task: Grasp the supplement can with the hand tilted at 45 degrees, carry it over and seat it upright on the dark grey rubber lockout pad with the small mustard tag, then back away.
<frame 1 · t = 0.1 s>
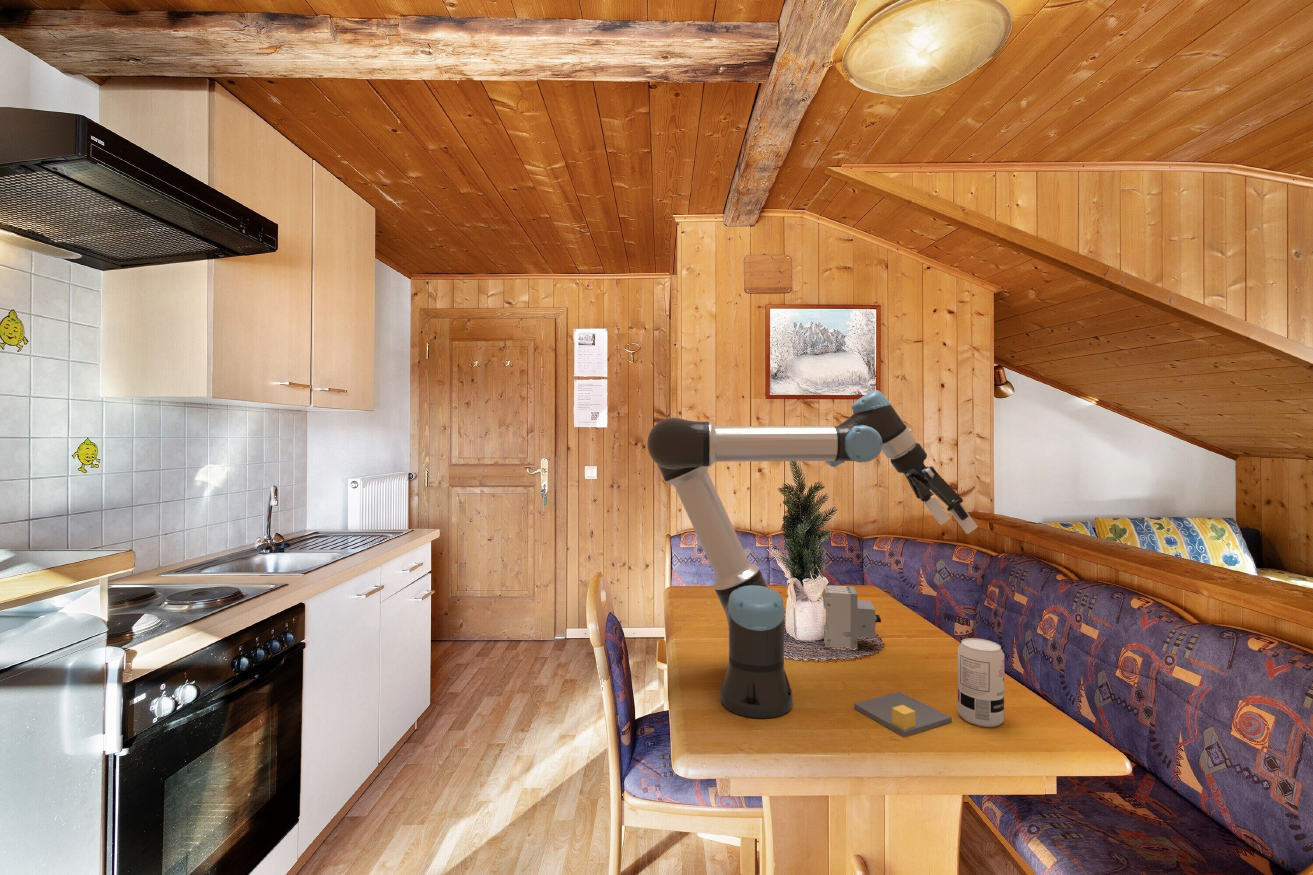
hand: (958, 525, 139), 36 cm above the table, tool tilted 35°, fingers open, 13 cm apart
circuit breaker: (851, 646, 161), on the table
supplement can: (980, 719, 121), on the table
lockout pad: (901, 714, 123), on the table
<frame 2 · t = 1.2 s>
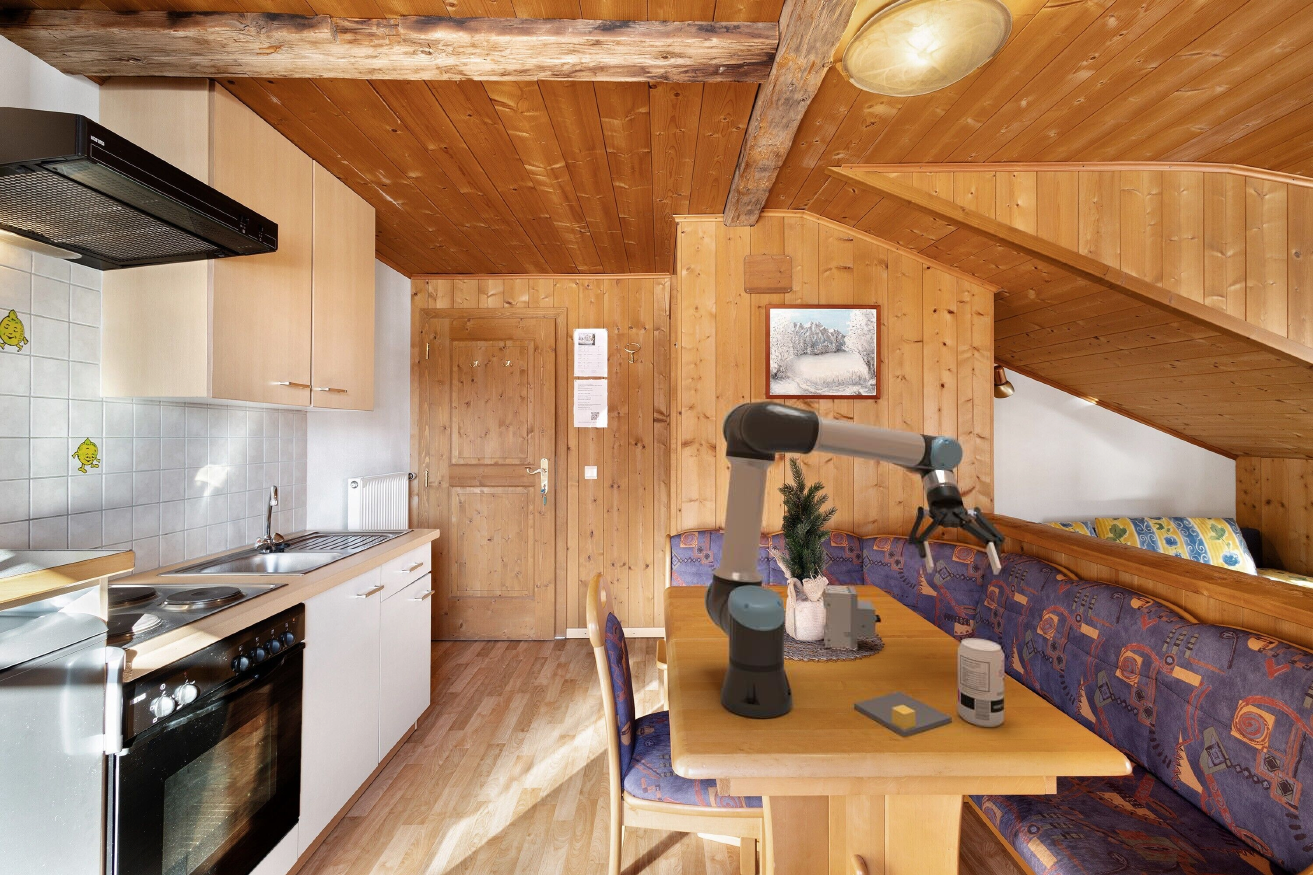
hand: (964, 570, 131), 27 cm above the table, tool tilted 45°, fingers open, 13 cm apart
nothing on the table moved.
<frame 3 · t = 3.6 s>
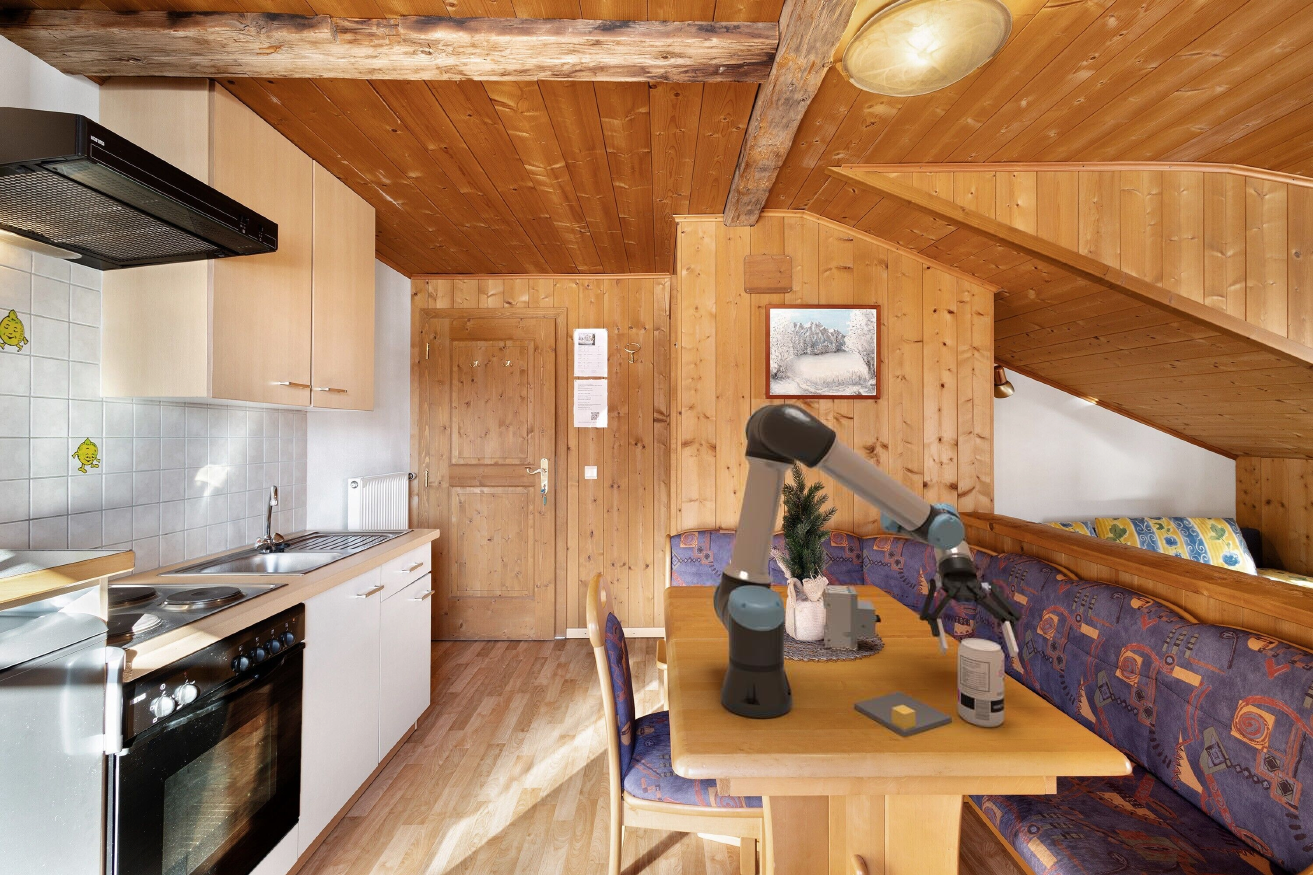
hand: (979, 652, 125), 12 cm above the table, tool tilted 45°, fingers open, 13 cm apart
nothing on the table moved.
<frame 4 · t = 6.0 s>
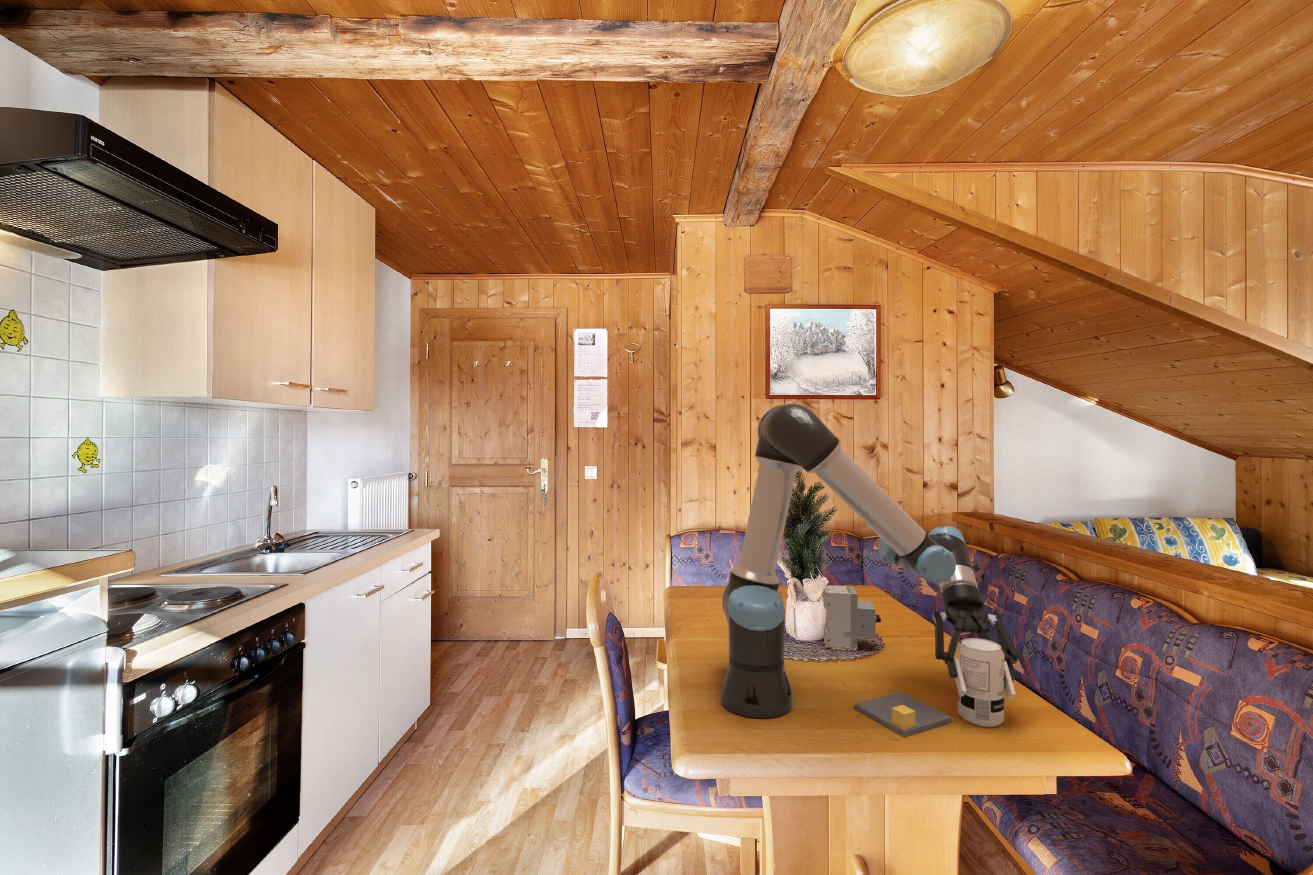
hand: (987, 695, 118), 6 cm above the table, tool tilted 45°, fingers closed on supplement can, 8 cm apart
supplement can: (980, 719, 121), on the table, touching gripper
everything else where it was.
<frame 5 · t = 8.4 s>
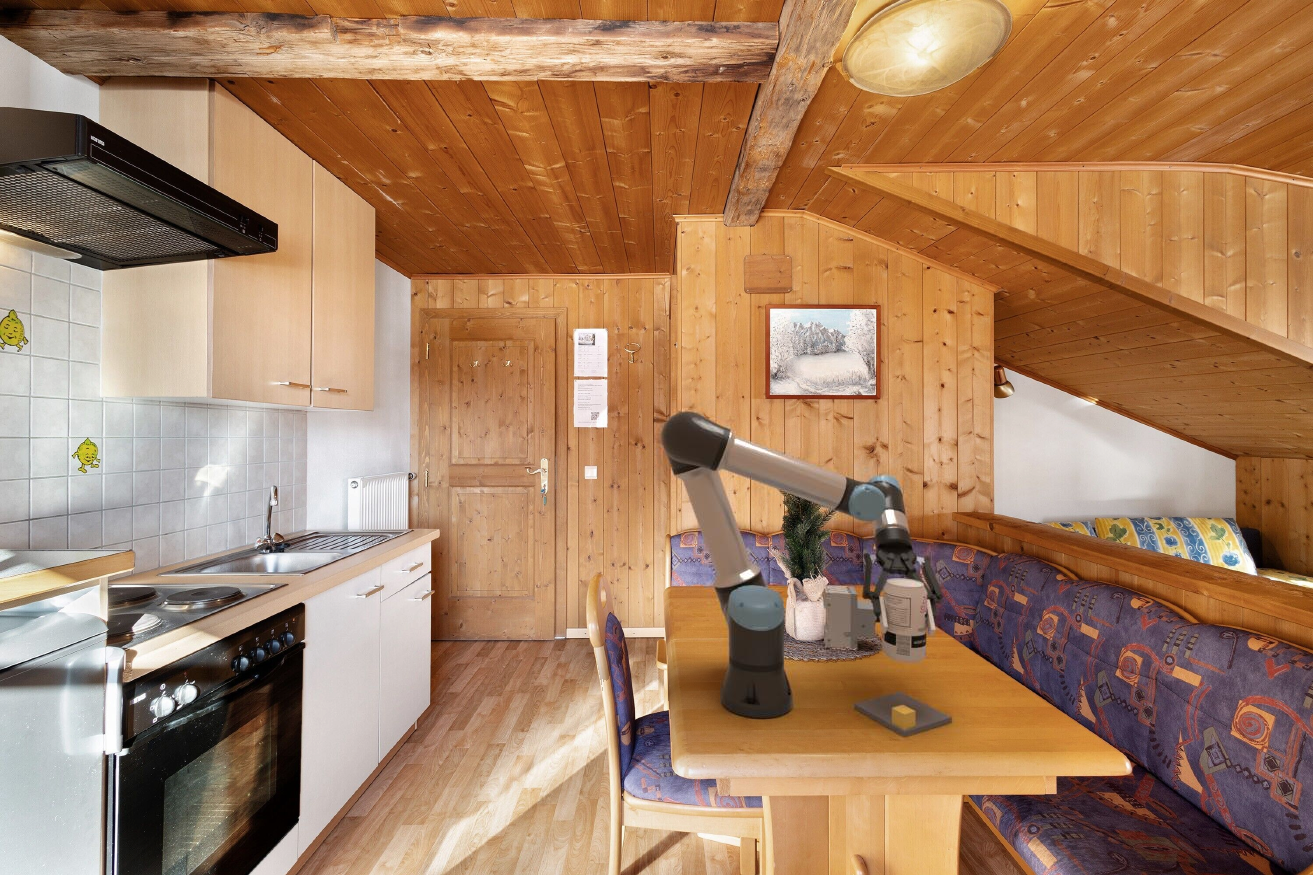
hand: (908, 631, 119), 18 cm above the table, tool tilted 45°, fingers closed on supplement can, 8 cm apart
supplement can: (903, 656, 122), point 12 cm above the table, touching gripper
everything else where it was.
when the fingers open (9 cm above the table, at t = 10.8 s): supplement can drops 1 cm, resting on lockout pad.
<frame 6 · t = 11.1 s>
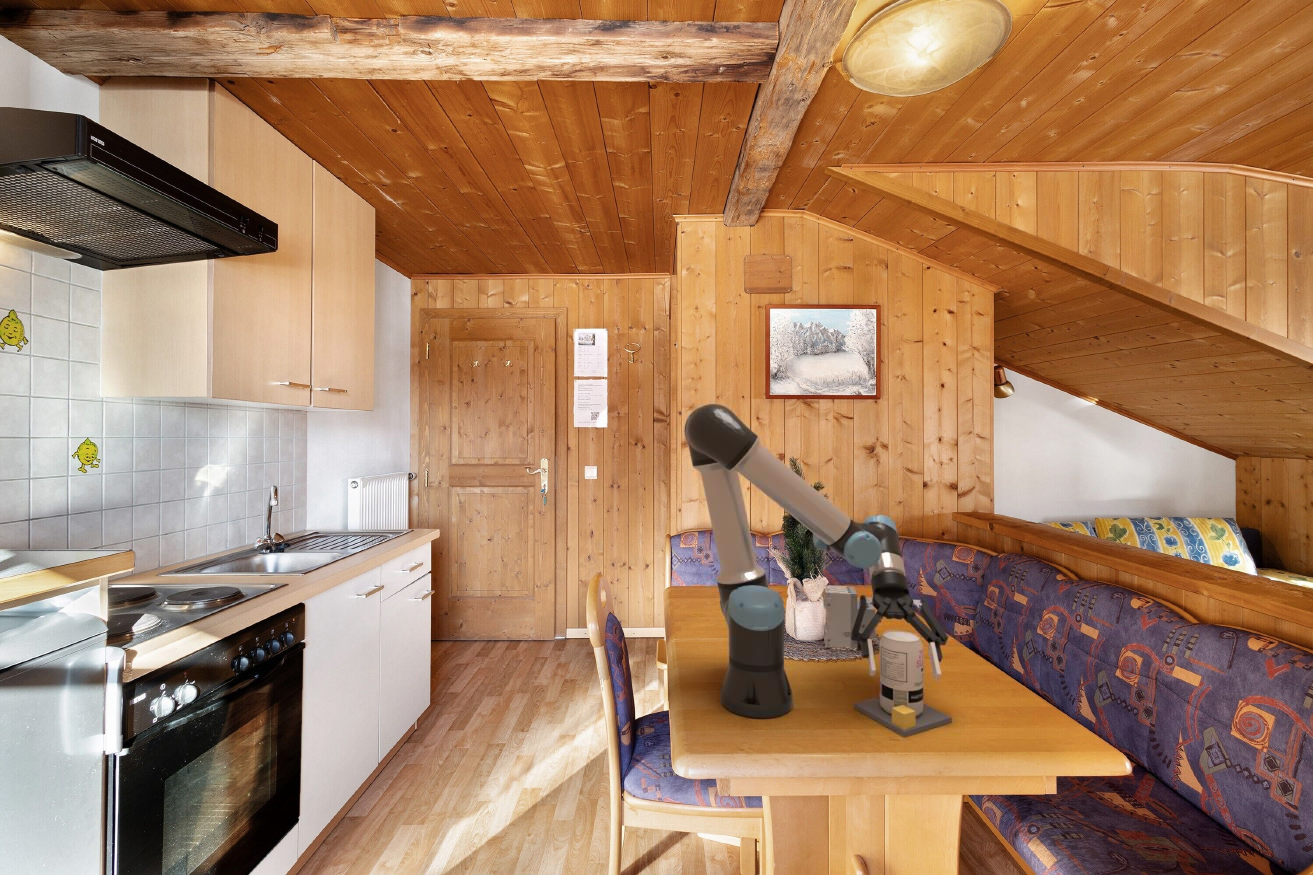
hand: (905, 674, 120), 9 cm above the table, tool tilted 45°, fingers open, 11 cm apart
supplement can: (901, 710, 123), point 1 cm above the table, touching lockout pad
everything else where it was.
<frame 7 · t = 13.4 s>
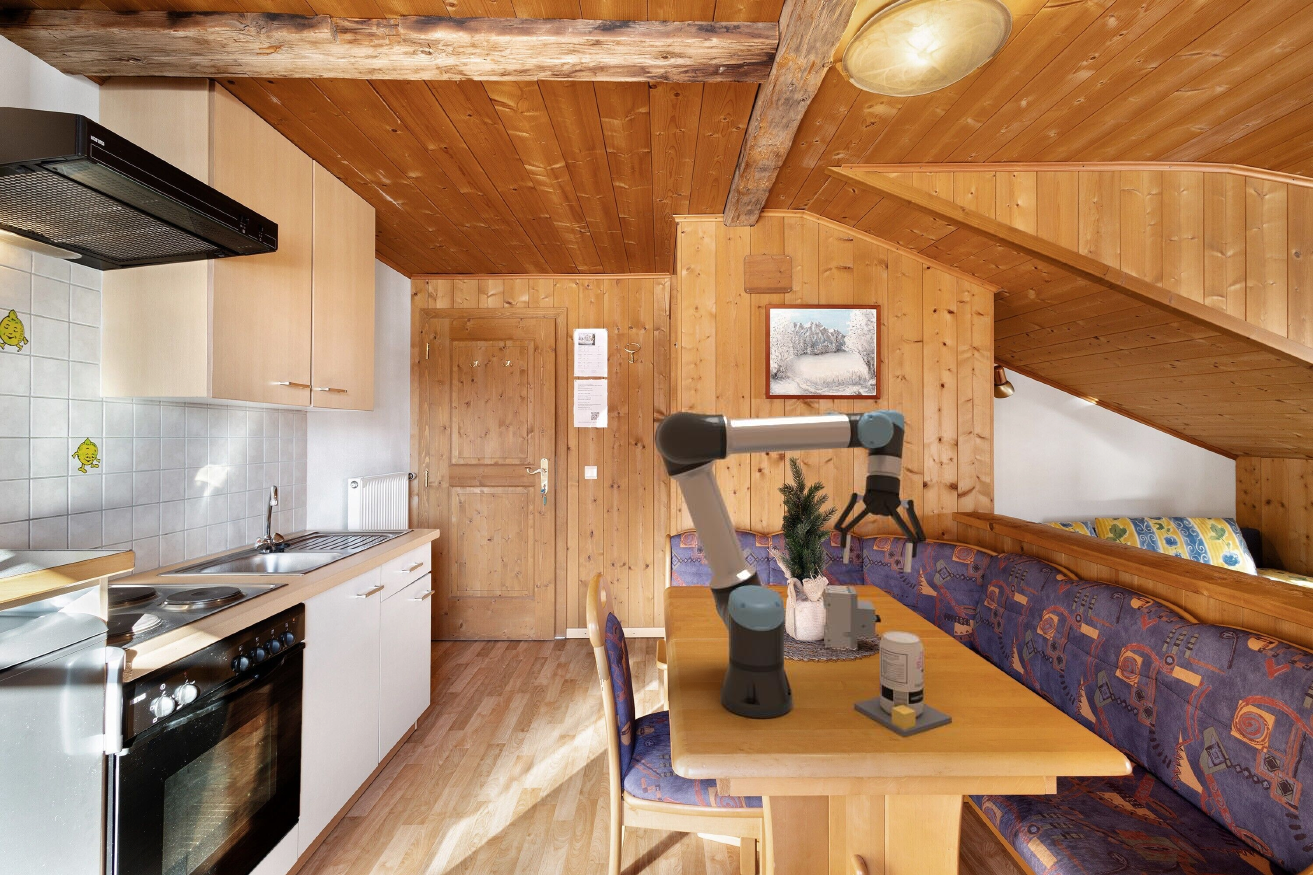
hand: (876, 567, 138), 26 cm above the table, tool pointing down, fingers open, 13 cm apart
nothing on the table moved.
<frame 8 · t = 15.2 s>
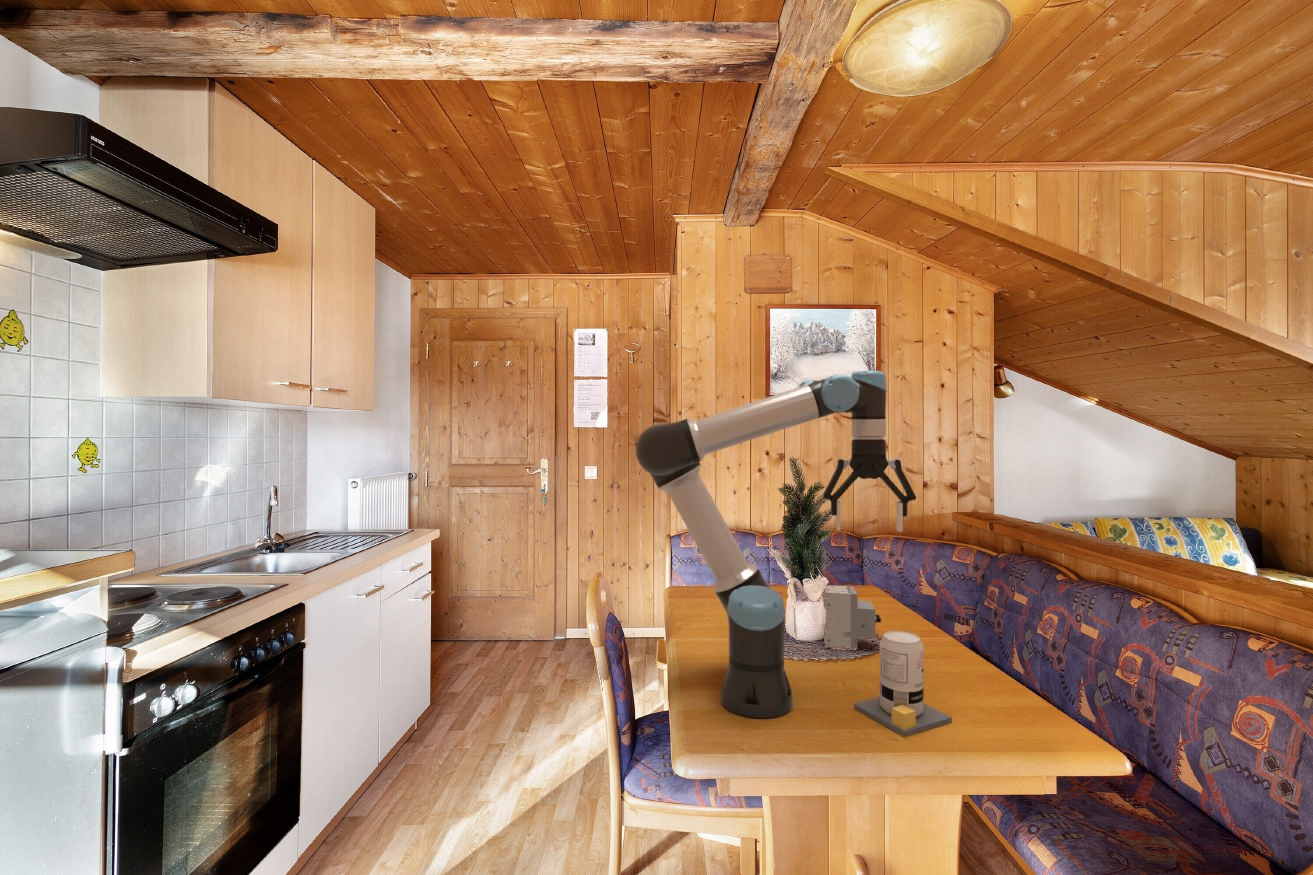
hand: (868, 530, 139), 35 cm above the table, tool pointing down, fingers open, 13 cm apart
nothing on the table moved.
at the end: supplement can inside the target area on the lockout pad (0.1 cm from its centre), point 0.8 cm above the lockout pad's base; supplement can tilted 0°; the gripper is holding nothing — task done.
